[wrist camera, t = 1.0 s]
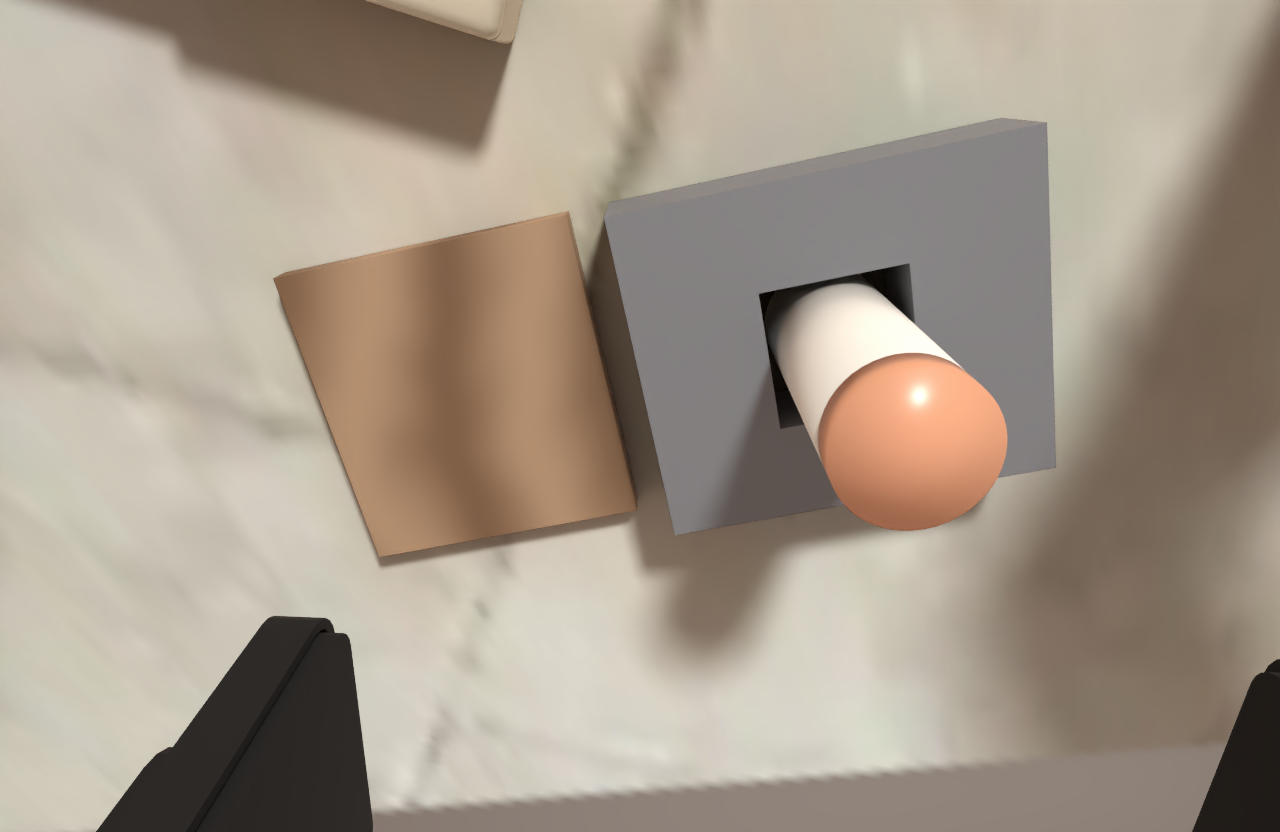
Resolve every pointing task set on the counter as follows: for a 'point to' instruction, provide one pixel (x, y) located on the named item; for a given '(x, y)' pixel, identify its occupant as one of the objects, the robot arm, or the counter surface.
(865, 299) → the plug
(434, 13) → the electrical outlet
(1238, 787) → the robot arm
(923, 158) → the socket block
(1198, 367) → the counter surface
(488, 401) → the board
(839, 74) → the counter surface
